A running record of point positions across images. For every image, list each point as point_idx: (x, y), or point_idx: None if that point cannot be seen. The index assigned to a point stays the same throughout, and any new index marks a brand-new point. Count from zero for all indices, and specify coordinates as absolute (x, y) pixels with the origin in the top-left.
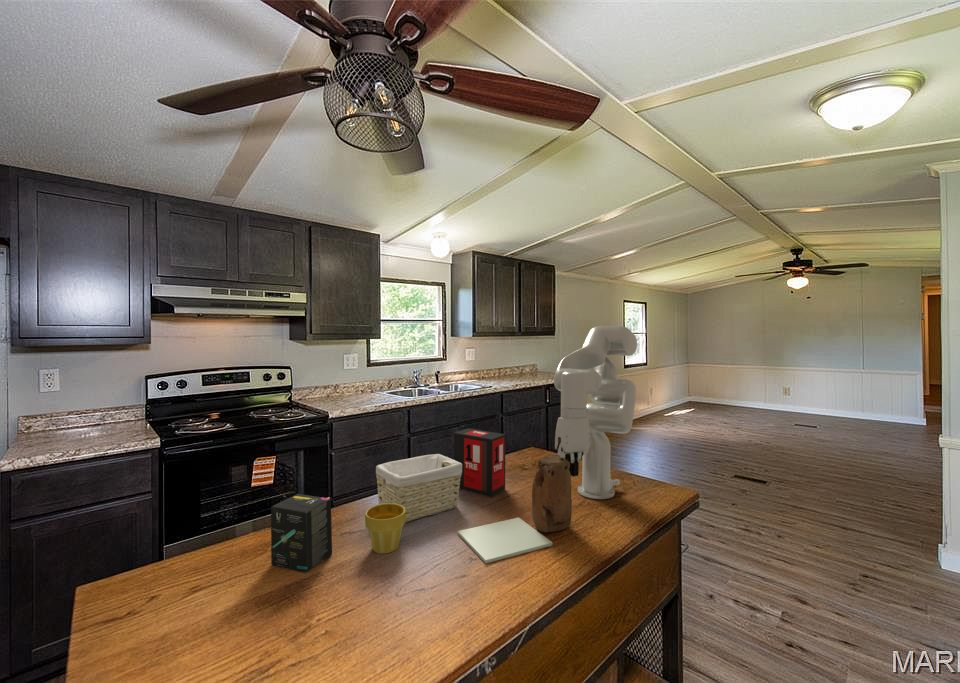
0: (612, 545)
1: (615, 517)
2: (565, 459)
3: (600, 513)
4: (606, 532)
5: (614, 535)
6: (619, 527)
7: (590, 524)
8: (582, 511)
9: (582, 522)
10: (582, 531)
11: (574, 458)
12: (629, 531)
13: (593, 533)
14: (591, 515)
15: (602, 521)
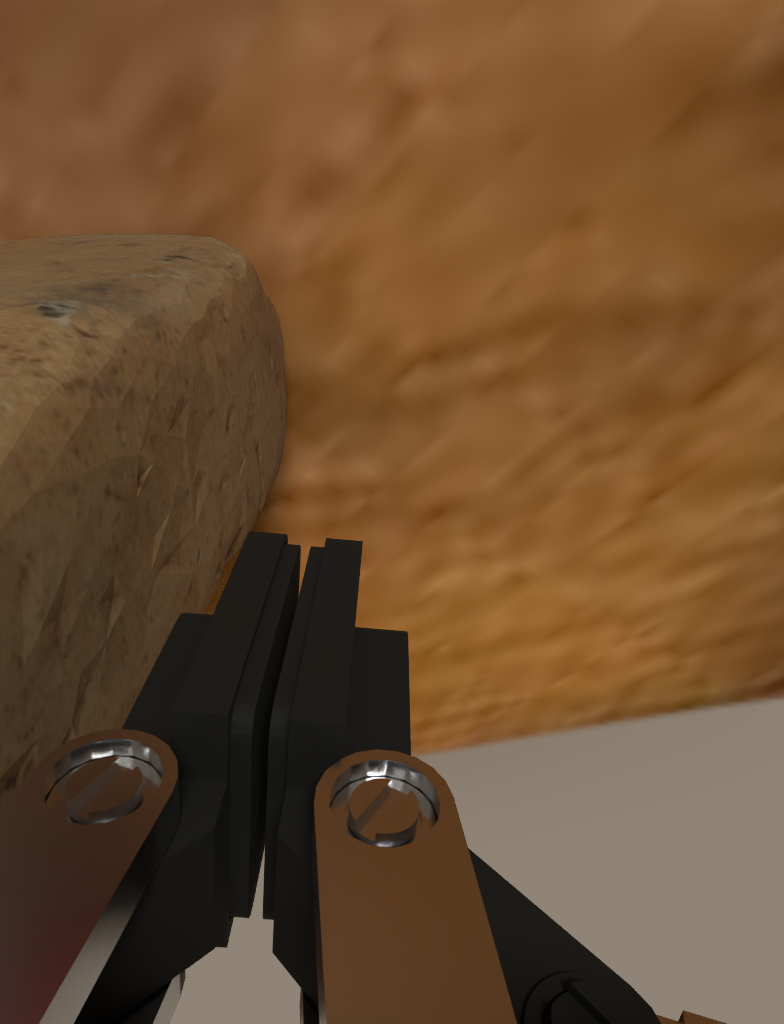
0: None
1: (756, 498)
2: (46, 759)
3: (734, 374)
4: (466, 620)
5: (475, 670)
6: (613, 619)
7: (472, 477)
8: (640, 242)
9: (445, 416)
10: (324, 524)
11: (297, 926)
12: (612, 685)
13: (373, 584)
14: (629, 359)
15: (600, 491)
